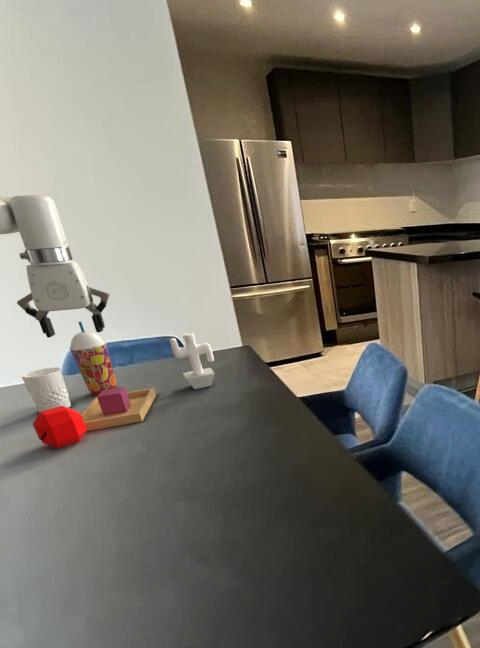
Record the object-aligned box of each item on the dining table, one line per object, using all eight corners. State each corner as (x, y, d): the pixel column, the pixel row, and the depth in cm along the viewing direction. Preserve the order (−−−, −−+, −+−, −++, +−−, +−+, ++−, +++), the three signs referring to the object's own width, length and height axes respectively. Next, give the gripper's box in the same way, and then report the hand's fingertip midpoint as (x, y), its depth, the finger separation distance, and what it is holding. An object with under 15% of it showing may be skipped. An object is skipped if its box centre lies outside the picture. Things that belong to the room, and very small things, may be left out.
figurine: (221, 384, 138) (208, 332, 132) (185, 392, 133) (169, 339, 128) (217, 378, 144) (204, 328, 138) (182, 386, 139) (167, 334, 133)
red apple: (40, 444, 107) (26, 412, 104) (83, 431, 113) (71, 400, 110) (48, 454, 102) (34, 421, 99) (93, 440, 108) (80, 408, 105)
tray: (75, 433, 112) (72, 424, 111) (98, 404, 129) (95, 397, 128) (142, 421, 116) (139, 413, 115) (156, 395, 133) (154, 387, 132)
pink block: (103, 415, 119) (96, 396, 117) (108, 408, 124) (102, 390, 122) (126, 412, 121) (120, 393, 119) (131, 405, 125) (125, 386, 123)
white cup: (40, 417, 123) (24, 379, 119) (34, 410, 128) (18, 373, 124) (77, 407, 128) (63, 370, 124) (70, 400, 133) (56, 365, 129)
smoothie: (81, 394, 138) (55, 324, 130) (113, 385, 144) (90, 317, 136) (94, 399, 133) (68, 326, 125) (127, 389, 139) (103, 319, 132)
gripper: (-6, 261, 101) (24, 342, 108) (91, 255, 107) (115, 332, 113) (9, 258, 108) (37, 334, 114) (100, 253, 113) (122, 326, 120)
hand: (76, 333), depth 114 cm, fingers open, 9 cm apart
